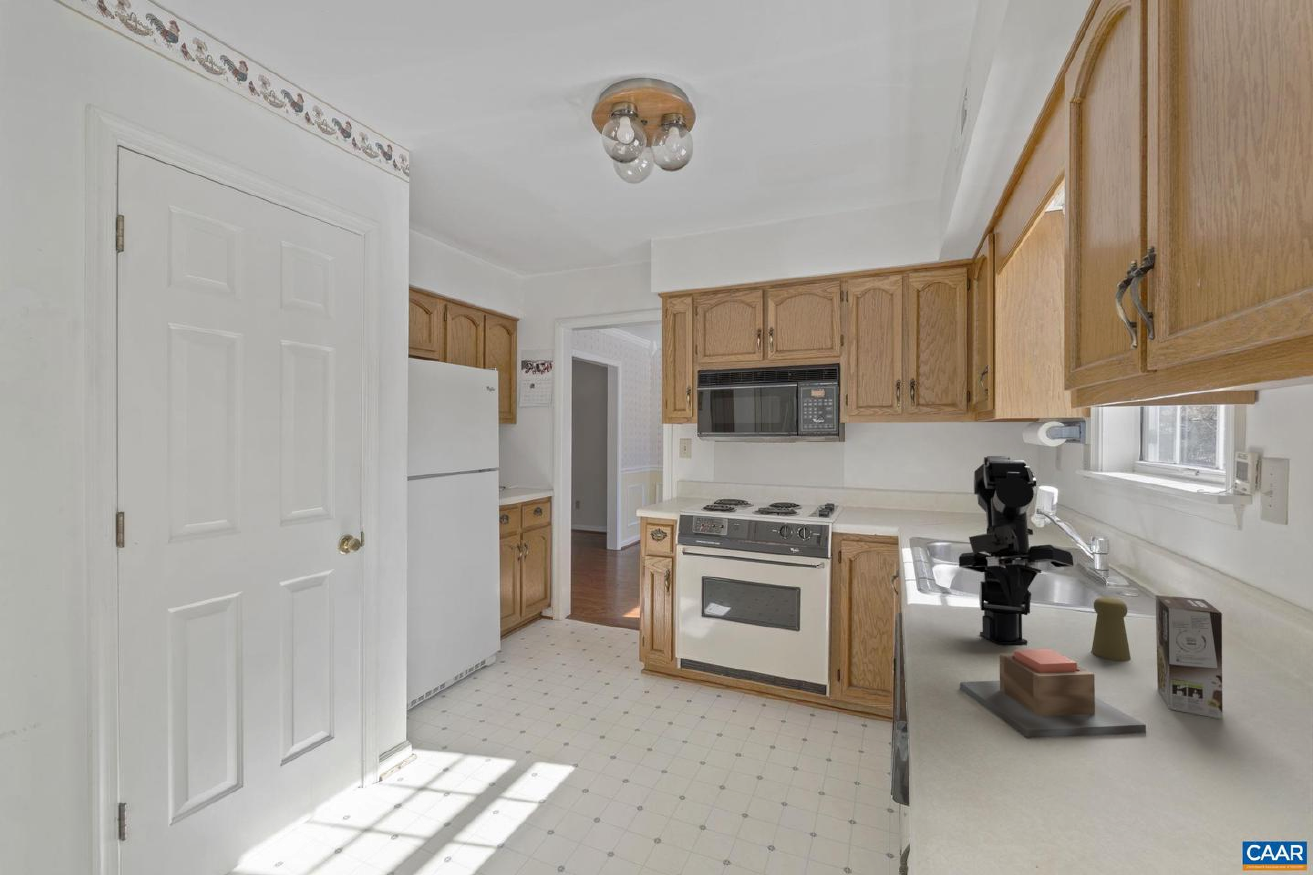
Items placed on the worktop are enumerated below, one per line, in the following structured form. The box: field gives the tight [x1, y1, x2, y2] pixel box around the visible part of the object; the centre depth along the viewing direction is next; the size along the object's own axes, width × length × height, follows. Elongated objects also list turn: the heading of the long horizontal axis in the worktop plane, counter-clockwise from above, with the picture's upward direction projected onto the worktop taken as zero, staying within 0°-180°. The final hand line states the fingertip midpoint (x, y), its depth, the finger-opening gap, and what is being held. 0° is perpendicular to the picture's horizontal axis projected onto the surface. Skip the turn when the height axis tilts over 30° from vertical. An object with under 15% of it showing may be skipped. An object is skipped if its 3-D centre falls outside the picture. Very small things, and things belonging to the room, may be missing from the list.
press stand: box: [959, 652, 1147, 739], centre depth 90 cm, size 18×16×7 cm
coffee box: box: [1155, 594, 1223, 720], centre depth 91 cm, size 9×6×16 cm
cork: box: [1091, 596, 1132, 662], centre depth 111 cm, size 6×6×11 cm
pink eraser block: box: [1013, 648, 1078, 673], centre depth 90 cm, size 6×6×6 cm
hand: (1014, 607), depth 103 cm, fingers closed
